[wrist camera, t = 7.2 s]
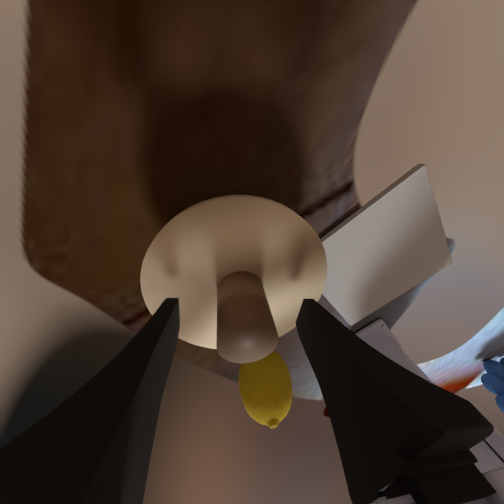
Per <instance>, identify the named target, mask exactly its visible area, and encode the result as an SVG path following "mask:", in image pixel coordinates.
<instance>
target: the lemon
mask: <svg viewBox="0 0 504 504" xmlns="http://www.w3.org/2000/svg"><path fill="white" fill-rule="evenodd" d="M239 389H240V394H241V398H242V401H243V404H244V407H245V409H246V410H247V412H248V414H249V415H250V416H251V417H252V418H253V419H254V420H255V421H257V422H258V423H260V424H263V425H268V426H269V427H270V428H272V429H273V428H276V427H277V426H278V423H279V422H280V421H281V420H282V419H284V417H285V416H286V415H287V413H288V411H289V409H290V406H291V402H292V384H291V378H290V374H289V371H288V368H287V366H286V364H285V362H284V360H283V359H282V357H281V356H280V355H279V354H278V353H277V352H276V351H273V352H272V353H270V354H269V355H268V356H266V357H265V358H263V359H260V360H258V361H255V362H250V363H241V366H240V370H239Z"/></svg>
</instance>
